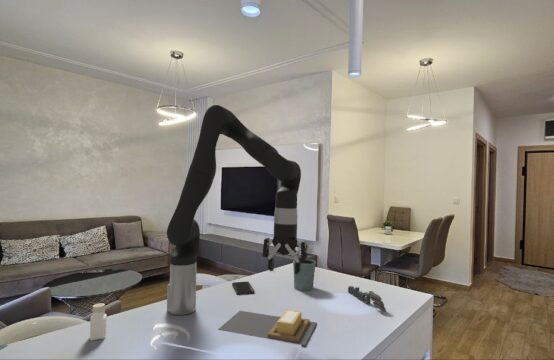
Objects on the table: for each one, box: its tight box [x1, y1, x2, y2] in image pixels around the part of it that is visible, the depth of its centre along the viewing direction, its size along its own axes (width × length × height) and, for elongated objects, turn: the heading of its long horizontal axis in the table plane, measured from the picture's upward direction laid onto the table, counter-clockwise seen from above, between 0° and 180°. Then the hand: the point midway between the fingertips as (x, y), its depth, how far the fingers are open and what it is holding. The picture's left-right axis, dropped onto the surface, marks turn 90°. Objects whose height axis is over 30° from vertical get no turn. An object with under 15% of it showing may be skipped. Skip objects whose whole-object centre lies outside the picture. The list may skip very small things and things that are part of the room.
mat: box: [217, 310, 317, 348], centre depth 103 cm, size 28×16×2 cm, turn 71°
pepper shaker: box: [89, 302, 108, 341], centre depth 95 cm, size 4×4×10 cm
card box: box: [277, 309, 302, 336], centre depth 101 cm, size 10×5×4 cm, turn 161°
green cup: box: [292, 258, 317, 292], centre depth 144 cm, size 10×10×12 cm
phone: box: [231, 281, 256, 296], centre depth 141 cm, size 8×1×15 cm
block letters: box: [347, 285, 387, 313], centre depth 127 cm, size 25×2×6 cm, turn 16°
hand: (283, 272), depth 103 cm, fingers open, 8 cm apart
